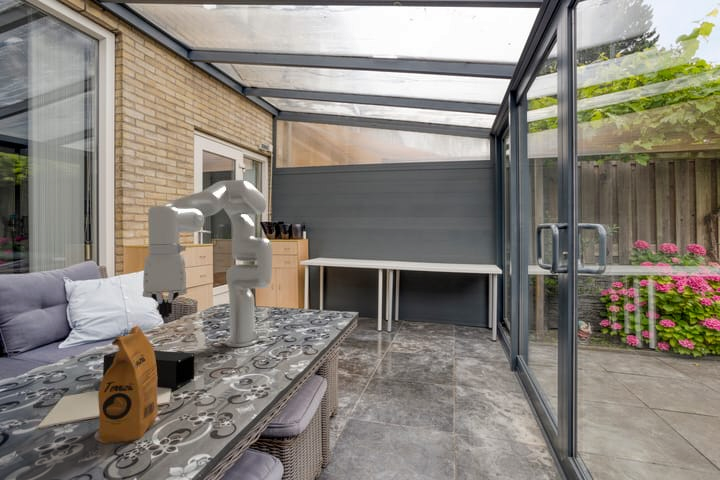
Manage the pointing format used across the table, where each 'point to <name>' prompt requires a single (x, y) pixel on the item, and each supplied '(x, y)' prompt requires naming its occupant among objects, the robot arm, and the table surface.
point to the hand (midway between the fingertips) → (165, 316)
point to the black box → (166, 367)
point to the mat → (86, 407)
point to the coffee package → (128, 390)
